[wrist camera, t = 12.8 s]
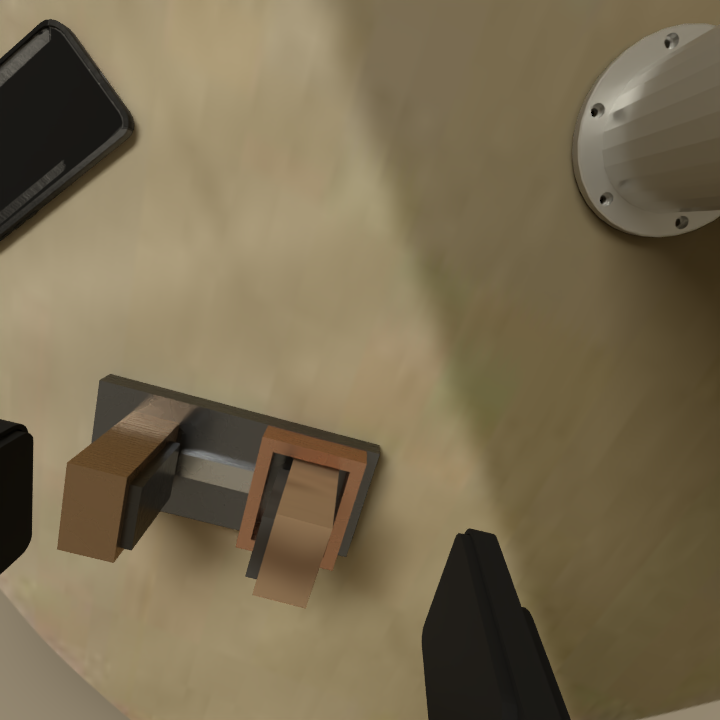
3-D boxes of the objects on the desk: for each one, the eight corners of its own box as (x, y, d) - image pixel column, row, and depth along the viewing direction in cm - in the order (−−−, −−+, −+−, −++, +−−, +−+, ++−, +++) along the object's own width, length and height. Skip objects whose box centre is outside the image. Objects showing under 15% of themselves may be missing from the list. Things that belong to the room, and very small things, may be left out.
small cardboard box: (318, 530, 38) (305, 608, 30) (266, 517, 37) (240, 591, 30) (339, 464, 36) (332, 529, 28) (286, 449, 36) (263, 510, 28)
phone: (-107, 154, 31) (53, 10, 28) (-91, 157, 32) (64, 18, 29) (-22, 254, 32) (136, 126, 30) (-9, 253, 34) (144, 130, 31)
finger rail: (379, 445, 37) (383, 516, 28) (346, 545, 40) (340, 639, 31) (110, 374, 36) (22, 423, 26) (95, 482, 38) (10, 561, 29)
